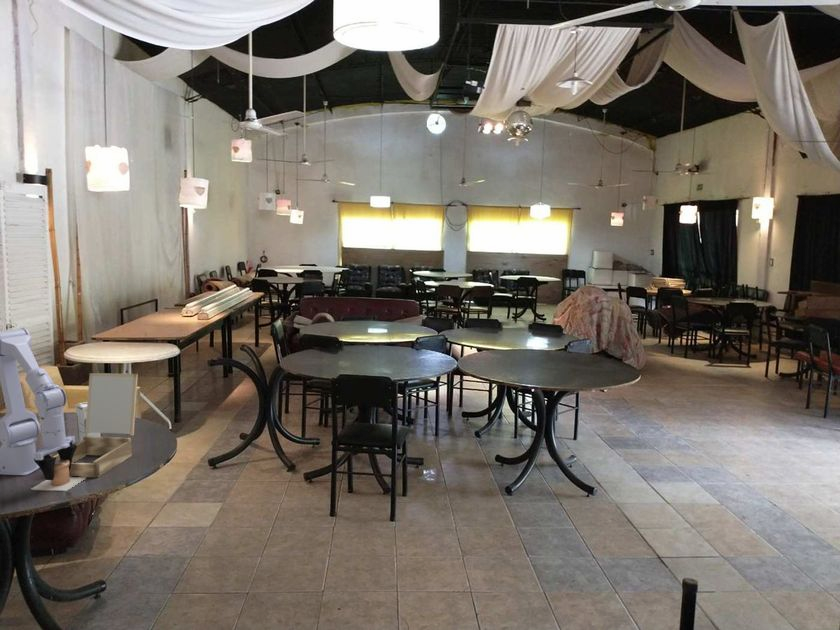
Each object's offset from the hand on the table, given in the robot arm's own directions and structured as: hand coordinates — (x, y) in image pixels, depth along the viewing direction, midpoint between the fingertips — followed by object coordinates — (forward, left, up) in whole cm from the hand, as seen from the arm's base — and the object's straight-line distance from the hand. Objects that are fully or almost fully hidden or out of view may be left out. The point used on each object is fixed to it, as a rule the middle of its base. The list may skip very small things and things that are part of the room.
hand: (58, 474), depth 185 cm
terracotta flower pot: (0, 0, -3) cm, 3 cm away
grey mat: (0, 0, -3) cm, 3 cm away
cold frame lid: (+1, +27, +13) cm, 30 cm away
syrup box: (-12, +32, -3) cm, 35 cm away
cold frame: (+1, +14, -3) cm, 15 cm away
